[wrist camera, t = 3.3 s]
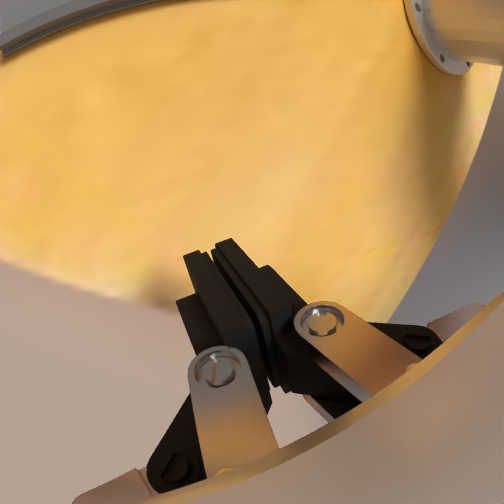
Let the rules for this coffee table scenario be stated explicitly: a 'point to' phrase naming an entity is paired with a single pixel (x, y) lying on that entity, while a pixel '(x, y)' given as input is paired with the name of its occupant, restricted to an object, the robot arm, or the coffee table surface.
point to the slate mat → (49, 18)
